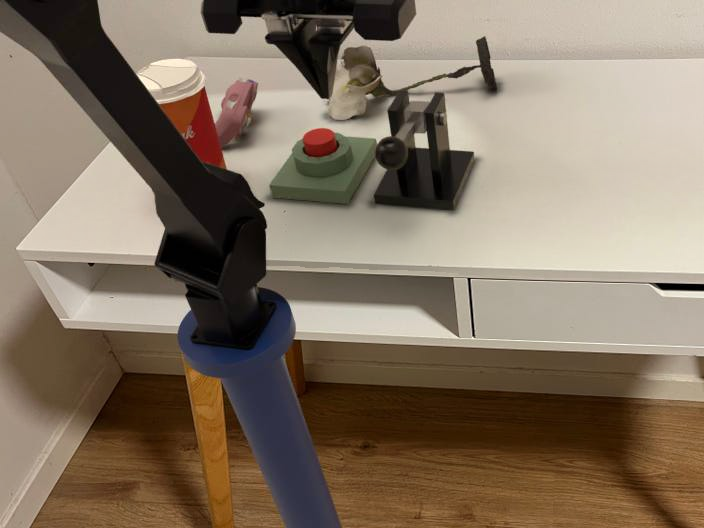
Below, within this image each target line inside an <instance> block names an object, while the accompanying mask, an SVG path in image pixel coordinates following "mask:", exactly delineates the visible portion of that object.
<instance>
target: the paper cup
mask: <svg viewBox="0 0 704 528" xmlns="http://www.w3.org/2000/svg"><path fill="white" fill-rule="evenodd" d="M136 74H137V76H138V77H139V78H140V80H141V81H142V82H143V84H144V85H145V87H146V88H147V89H148V91H149V92H150V93H151V95H152V96H153V97H154V99H155V100H156V101H157V103H158V104H159V105H160V107H161V108H162V109H163V111H164V112H165V113H166V115H167V116H168V117H169V119H170V120H171V121H172V123H173V124H174V125H175V127H176V128H177V129H178V131H179V132H180V133H181V135H182V136H183V137H184V139H185V140H186V141H187V143H188V144H189V145H190V147H191V148H192V149H193V151H194V152H195V153H196V155H197V156H198V157H199V159H200V160H201V161H203V162H206V163H209V164H212V165H215V166H218V167H221V168H224V169H227V170H228V168H227V165H226V161H225V157H224V152H223V150H222V147H221V145H220V142H219V138H218V134H217V130H216V127H215V120H214V116H213V112H212V108H211V105H210V101H209V97H208V93H207V90H206V89H207V88H206V86H205V84H206V79H207V78H206V76H205V74H204V73H203V72H202V71H201V70H200V69H199V67H198V65H197V64H196V63H194V62H193V61H192V60H189V59H184V58H167V59H161V60H157V61H154V62H151V63H149V64H148V66H143V67H142V68H141V69H139V70H137V71H136Z"/></svg>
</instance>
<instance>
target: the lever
mask: <svg viewBox="0 0 704 528" xmlns="http://www.w3.org/2000/svg"><path fill="white" fill-rule="evenodd" d="M430 102H431V101H422V100H411V101H410V103H409V104H408V106H407V107H406V108H405V109H404V122H405V124H404V125H403V126H402V128H401V129H400V130H399V132H398V133H397V134H396V136H395V137H393V136H391V135H390V136H385V137H383V138H381V139H380V140H379V141H378V142H377V146H376V149H375V160H376V162H377V163H378V165H379V166H380V167H381V168H383V169H385V170H386V171H387V170H397V169H399V168H401V167H402V166H403V165H404V164H405V163H406V161H407V158H408V149H407V146H406V145H407V144H408V143H409V141H410V140H411V138H412V137H413V135H414V136H415V134H424V135H425V134H427V130H426V122H425V111H426V109H427V107H428V105H429V104H430Z"/></svg>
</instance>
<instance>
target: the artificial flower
mask: <svg viewBox="0 0 704 528" xmlns="http://www.w3.org/2000/svg"><path fill="white" fill-rule="evenodd" d="M475 43H476V44H475V45H476V48H477V49H476V50H477V55H478V61H479V64H478V65H472V66H463V67H460V68H459V69H458V68H457V69H456V71H454V72H449V73H443V74H439V75H436V76H432V77H431V78H429V79H425V80H420V81H418V82H416V83H412V85H408V86H406V87H405V86H404V87H403V88H400V89H396V90H395V89H394V90H391V89H389V88H387V86H385V84H384V82H383V80H382V78H383V75H382V74H381V69H380V67H379V66H378V65H377V61H376V58H375V56H374V55H375V54H374V52H373V50H372V48H371V47H370V46H368V45H359V46H356V47H355V46H350V47H346V48H344V50H343V52H342V54H341V56H340V57H341V58H340V62H339V64H337V66H336V73H335V80H334V87H333V93H332V96H331V97H330V101H329V104H328V106H327V109H328V116H329V117H330V118H332V119H333V120H335V121H345V120H348V119H351V118H352V117H354V116H360V115H363V114H364V113H365V112H366V108H367V97H366V96H367V95H370V94H371V96H372V97H374V98H379V97H383V96H389V95H390V96H391V95H392V96H393V95H397V94H398V92H399V90H405V91H409V90H411V89H415V88H418V87H420V86H421V85H425V84H427V83H432V82H434V81H440V80H442V79H445V78H448V79H458V78H461V77H463V76H465V75H467V74H469V73H470V72H471V71H474V70H475V69H478V68H479V69H480V72H481V74H482V77H483V80H484V84H485V85H488V86H489V88H490V89H491V90H498V86H497V81H496V77H495V71H494V69H493V67H492V64H491V58H492V57H491V53H490V50H489V49H490V48H489V43H488V41H487V37H486V35H484V36H482V37H480V38H478V39H476V40H475Z"/></svg>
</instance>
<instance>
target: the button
mask: <svg viewBox="0 0 704 528" xmlns="http://www.w3.org/2000/svg"><path fill="white" fill-rule="evenodd" d="M335 133H336V132H335V131H334V130H332V129H330V128H327V127H318V128H313V129H311V130H308V131H307V132H306V133H305V134H303V136H302V138H303V143H304V147H305V151H306V154H307V155H308V156H310V157H323V156H328V155H330V154H332V153H334V152H336V150H337V143H336V138H335Z"/></svg>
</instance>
